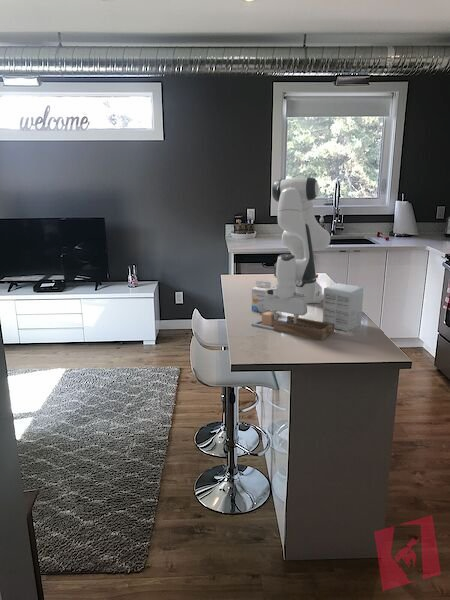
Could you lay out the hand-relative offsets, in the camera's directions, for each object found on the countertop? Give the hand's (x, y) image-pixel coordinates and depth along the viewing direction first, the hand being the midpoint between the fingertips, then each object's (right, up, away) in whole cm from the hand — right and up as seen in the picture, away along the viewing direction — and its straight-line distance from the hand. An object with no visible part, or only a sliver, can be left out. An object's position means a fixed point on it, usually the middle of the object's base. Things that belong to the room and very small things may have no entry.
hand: (284, 321), depth 215 cm
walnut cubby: (+8, -4, -5) cm, 10 cm away
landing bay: (-6, -1, +5) cm, 8 cm away
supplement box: (+26, -2, +4) cm, 26 cm away
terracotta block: (-7, -1, +5) cm, 9 cm away
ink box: (-9, +4, +26) cm, 28 cm away
